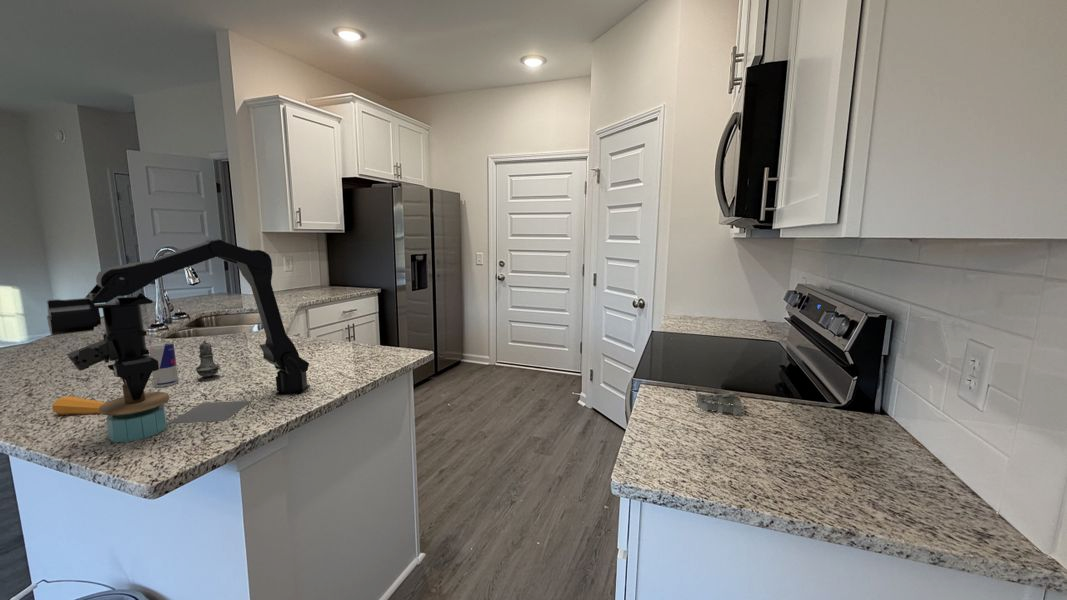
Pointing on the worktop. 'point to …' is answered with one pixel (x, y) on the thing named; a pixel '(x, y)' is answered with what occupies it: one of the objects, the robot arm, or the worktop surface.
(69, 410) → the carrot
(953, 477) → the worktop surface
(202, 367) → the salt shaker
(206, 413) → the mat
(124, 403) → the lid
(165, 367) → the energy drink
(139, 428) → the bowl
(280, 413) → the worktop surface
